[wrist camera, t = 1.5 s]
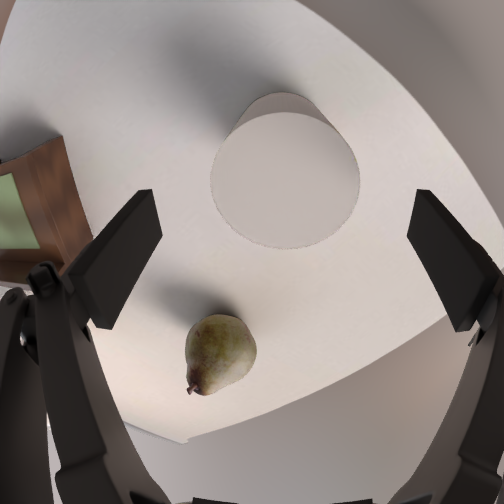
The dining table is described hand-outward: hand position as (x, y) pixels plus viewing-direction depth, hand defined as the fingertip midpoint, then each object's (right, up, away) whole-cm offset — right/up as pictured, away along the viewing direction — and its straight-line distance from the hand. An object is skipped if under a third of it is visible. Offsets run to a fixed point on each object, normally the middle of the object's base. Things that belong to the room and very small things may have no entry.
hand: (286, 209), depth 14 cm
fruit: (-5, -12, +28) cm, 31 cm away
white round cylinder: (+1, +9, +11) cm, 14 cm away
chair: (-30, +5, +17) cm, 35 cm away
